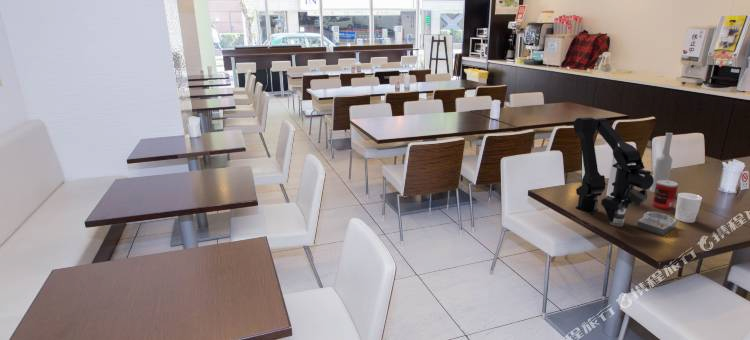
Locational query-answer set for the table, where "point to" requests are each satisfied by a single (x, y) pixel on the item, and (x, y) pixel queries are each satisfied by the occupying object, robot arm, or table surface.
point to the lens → (619, 217)
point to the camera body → (657, 222)
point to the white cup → (687, 207)
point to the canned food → (665, 194)
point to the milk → (612, 177)
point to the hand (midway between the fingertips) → (616, 218)
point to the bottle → (662, 163)
